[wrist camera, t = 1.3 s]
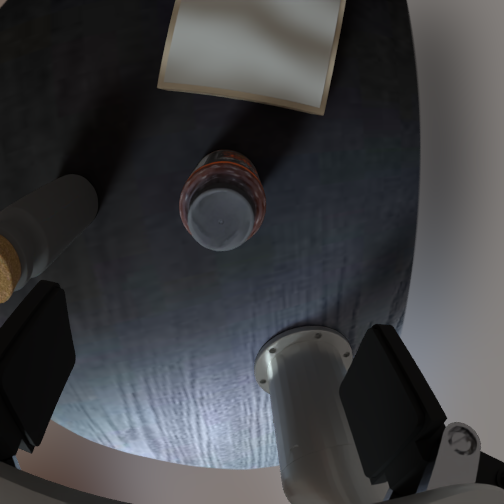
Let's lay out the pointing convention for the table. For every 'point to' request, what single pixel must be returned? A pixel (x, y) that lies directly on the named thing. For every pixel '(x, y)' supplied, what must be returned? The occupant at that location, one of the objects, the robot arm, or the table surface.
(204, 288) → the table surface
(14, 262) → the bottle
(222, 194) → the supplement bottle
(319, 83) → the grey square box
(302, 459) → the robot arm
